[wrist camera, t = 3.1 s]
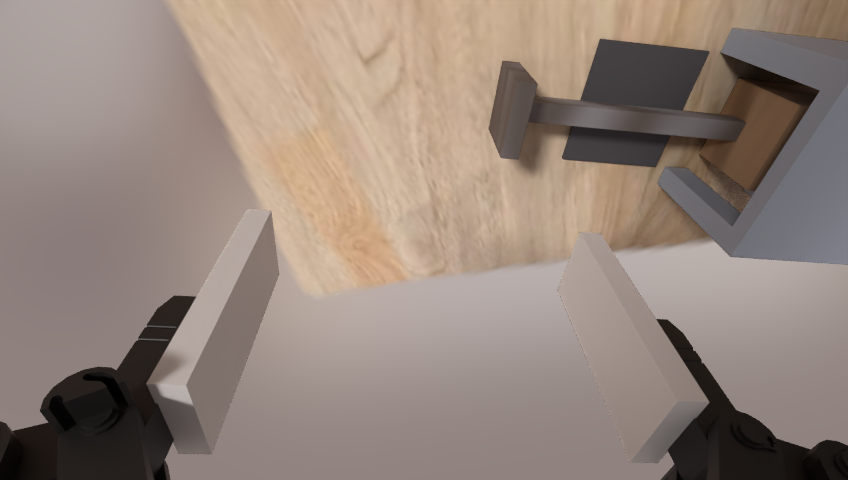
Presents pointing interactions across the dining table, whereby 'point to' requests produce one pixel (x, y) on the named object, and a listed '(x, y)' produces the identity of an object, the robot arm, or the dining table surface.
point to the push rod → (665, 121)
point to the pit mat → (633, 98)
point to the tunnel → (786, 163)
